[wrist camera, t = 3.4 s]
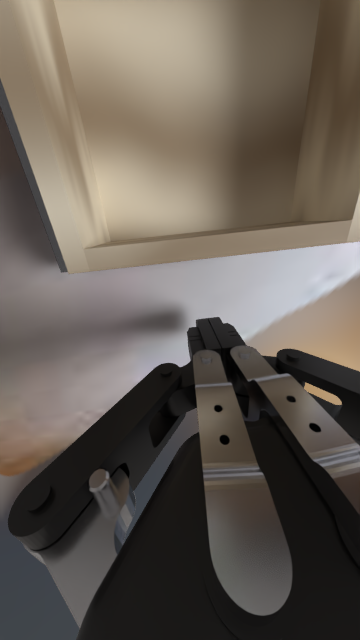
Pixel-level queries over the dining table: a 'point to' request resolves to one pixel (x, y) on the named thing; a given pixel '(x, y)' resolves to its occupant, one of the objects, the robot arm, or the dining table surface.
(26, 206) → the dining table surface
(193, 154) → the box
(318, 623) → the robot arm
